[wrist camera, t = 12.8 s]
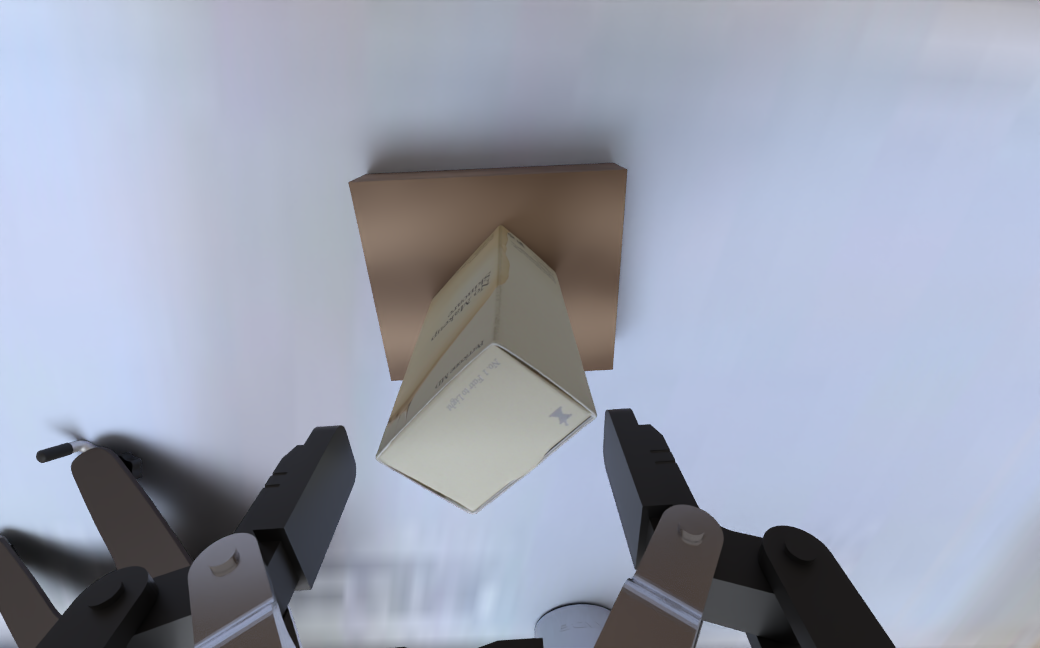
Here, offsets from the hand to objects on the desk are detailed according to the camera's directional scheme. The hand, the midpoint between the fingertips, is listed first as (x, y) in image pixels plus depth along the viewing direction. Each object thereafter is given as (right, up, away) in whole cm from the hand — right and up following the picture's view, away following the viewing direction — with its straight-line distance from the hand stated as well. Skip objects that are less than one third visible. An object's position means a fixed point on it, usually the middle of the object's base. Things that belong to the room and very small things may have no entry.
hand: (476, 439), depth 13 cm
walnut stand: (0, +7, +13) cm, 15 cm away
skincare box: (0, +6, +11) cm, 12 cm away
